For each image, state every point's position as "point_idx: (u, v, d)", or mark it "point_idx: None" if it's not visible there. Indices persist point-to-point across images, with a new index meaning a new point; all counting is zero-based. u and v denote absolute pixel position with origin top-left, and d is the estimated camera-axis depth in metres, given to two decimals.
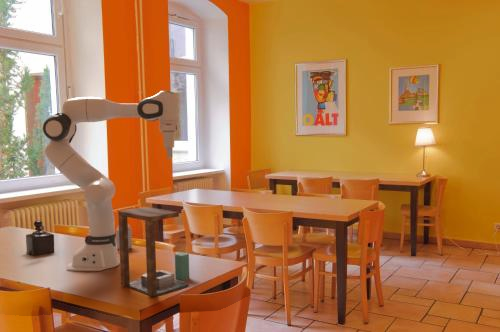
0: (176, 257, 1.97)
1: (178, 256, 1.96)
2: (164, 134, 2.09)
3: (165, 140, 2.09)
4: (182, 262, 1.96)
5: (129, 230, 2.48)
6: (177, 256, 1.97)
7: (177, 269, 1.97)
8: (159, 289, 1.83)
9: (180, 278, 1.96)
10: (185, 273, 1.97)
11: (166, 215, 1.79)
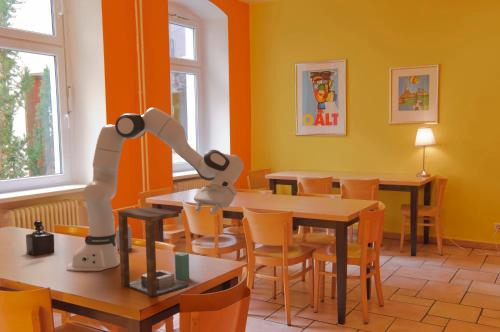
0: (176, 257, 1.97)
1: (178, 256, 1.96)
2: (229, 192, 2.03)
3: (228, 197, 2.02)
4: (182, 262, 1.96)
5: (129, 230, 2.48)
6: (177, 256, 1.97)
7: (177, 269, 1.97)
8: (159, 289, 1.83)
9: (180, 278, 1.96)
10: (185, 273, 1.97)
11: (166, 215, 1.79)
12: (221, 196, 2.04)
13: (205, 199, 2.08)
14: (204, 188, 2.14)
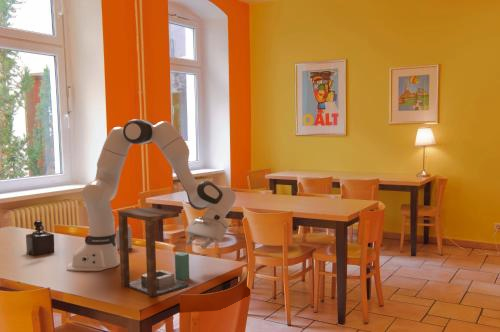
0: (176, 257, 1.97)
1: (178, 256, 1.96)
2: (221, 226, 2.01)
3: (219, 231, 1.99)
4: (182, 262, 1.96)
5: (129, 230, 2.48)
6: (177, 256, 1.97)
7: (177, 269, 1.97)
8: (159, 289, 1.83)
9: (180, 278, 1.96)
10: (185, 273, 1.97)
11: (166, 215, 1.79)
12: (213, 230, 2.01)
13: (197, 232, 2.06)
14: (196, 220, 2.12)
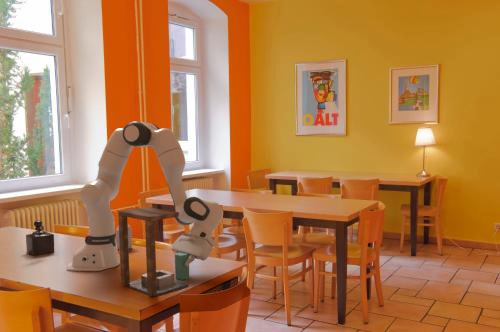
0: (176, 257, 1.97)
1: (178, 256, 1.96)
2: (207, 243, 1.95)
3: (205, 250, 1.94)
4: (182, 262, 1.96)
5: (129, 230, 2.48)
6: (177, 256, 1.97)
7: (177, 269, 1.97)
8: (159, 289, 1.83)
9: (180, 278, 1.96)
10: (185, 273, 1.97)
11: (166, 215, 1.79)
12: (198, 248, 1.96)
13: (182, 250, 2.00)
14: (182, 237, 2.06)
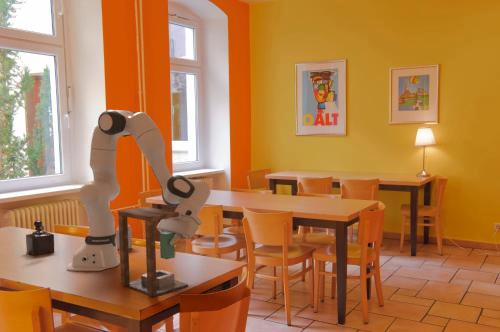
0: (161, 235, 1.91)
1: (163, 234, 1.91)
2: (192, 222, 1.90)
3: (191, 228, 1.88)
4: (167, 241, 1.90)
5: (129, 230, 2.48)
6: (162, 235, 1.91)
7: (162, 248, 1.92)
8: (159, 289, 1.83)
9: (165, 257, 1.91)
10: (171, 252, 1.92)
11: (166, 215, 1.79)
12: (184, 226, 1.90)
13: (168, 229, 1.95)
14: None
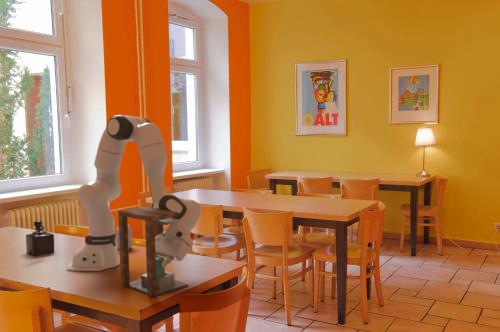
0: None
1: None
2: (183, 243, 1.86)
3: (181, 250, 1.85)
4: (157, 267, 1.87)
5: (129, 230, 2.48)
6: None
7: None
8: (159, 289, 1.83)
9: None
10: None
11: (166, 215, 1.79)
12: (174, 248, 1.87)
13: (158, 250, 1.92)
14: (158, 236, 1.98)
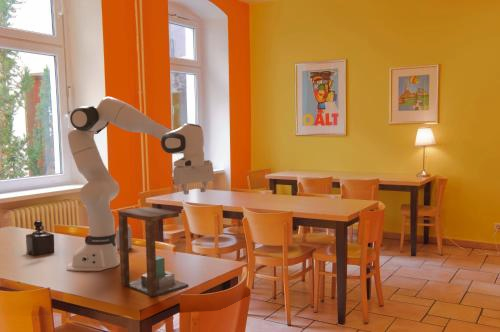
0: None
1: None
2: (174, 170, 2.04)
3: (174, 176, 2.03)
4: (157, 267, 1.87)
5: (129, 230, 2.48)
6: None
7: None
8: (159, 289, 1.83)
9: None
10: None
11: (166, 215, 1.79)
12: None
13: None
14: None
